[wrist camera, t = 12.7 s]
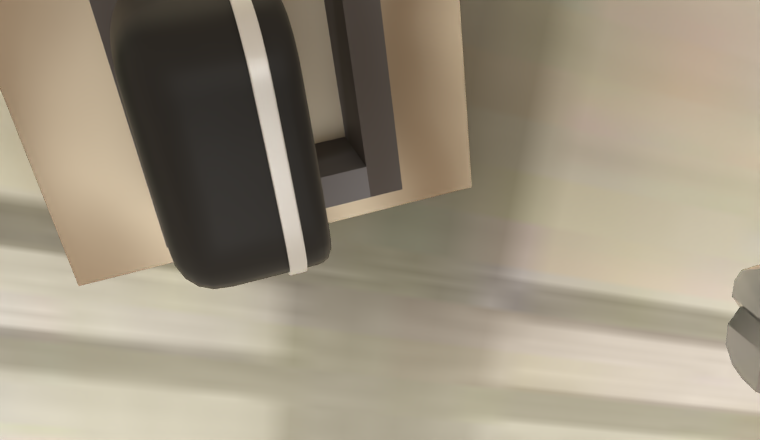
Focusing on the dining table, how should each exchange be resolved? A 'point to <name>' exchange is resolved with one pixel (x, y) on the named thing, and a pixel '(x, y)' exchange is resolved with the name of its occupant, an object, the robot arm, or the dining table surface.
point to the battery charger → (223, 135)
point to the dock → (324, 97)
